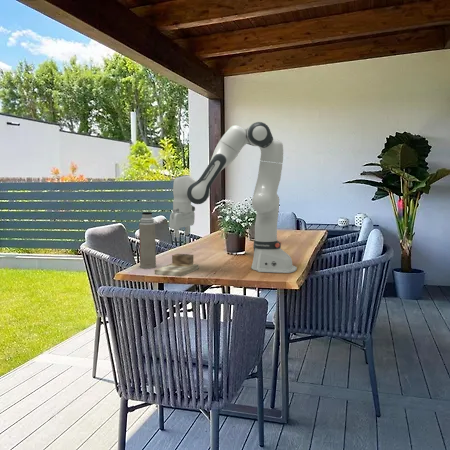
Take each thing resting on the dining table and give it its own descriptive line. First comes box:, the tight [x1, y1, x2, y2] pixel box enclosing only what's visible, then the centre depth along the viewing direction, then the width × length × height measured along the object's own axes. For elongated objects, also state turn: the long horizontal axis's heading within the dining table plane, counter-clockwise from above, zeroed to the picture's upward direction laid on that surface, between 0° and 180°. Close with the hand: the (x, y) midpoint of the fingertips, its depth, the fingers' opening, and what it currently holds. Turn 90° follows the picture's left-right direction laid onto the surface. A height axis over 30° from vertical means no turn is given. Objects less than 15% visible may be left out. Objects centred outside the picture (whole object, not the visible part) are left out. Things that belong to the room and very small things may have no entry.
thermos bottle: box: [138, 211, 157, 269], centre depth 229 cm, size 8×8×28 cm
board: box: [154, 263, 200, 277], centre depth 219 cm, size 14×19×2 cm
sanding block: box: [171, 253, 194, 267], centre depth 225 cm, size 9×6×5 cm, turn 68°
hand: (182, 236), depth 223 cm, fingers open, 8 cm apart
